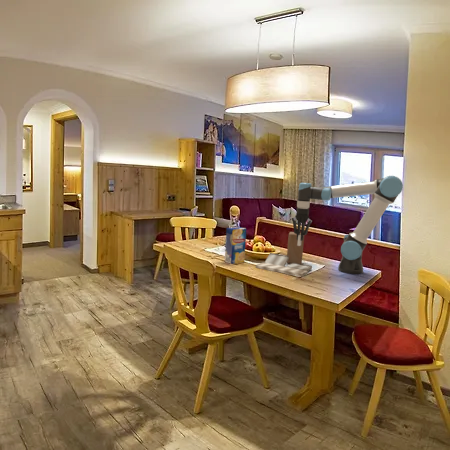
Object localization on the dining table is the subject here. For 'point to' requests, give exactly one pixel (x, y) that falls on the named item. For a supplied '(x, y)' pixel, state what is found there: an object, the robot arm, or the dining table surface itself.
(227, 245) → the blue food box
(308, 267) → the grey wavy slab
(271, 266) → the grey ridged flat tray
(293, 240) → the wooden block
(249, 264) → the dining table surface
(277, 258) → the grey ridged flat piece
